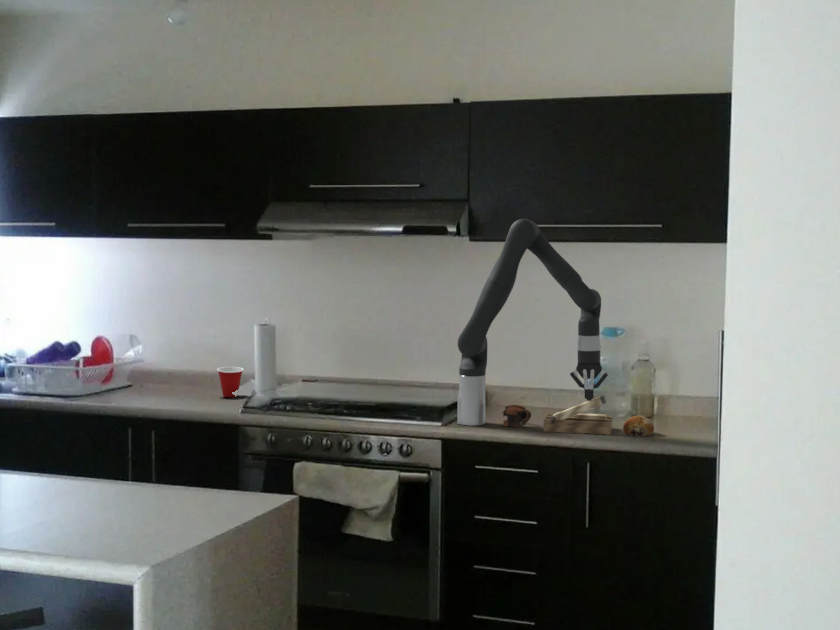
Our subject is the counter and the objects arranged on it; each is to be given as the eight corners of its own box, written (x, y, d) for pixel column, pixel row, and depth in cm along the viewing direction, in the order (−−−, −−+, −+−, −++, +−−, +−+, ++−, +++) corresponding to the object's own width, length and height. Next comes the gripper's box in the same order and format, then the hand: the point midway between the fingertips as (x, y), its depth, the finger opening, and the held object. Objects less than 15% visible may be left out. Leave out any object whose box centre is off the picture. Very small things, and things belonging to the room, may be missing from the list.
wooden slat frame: (543, 431, 308) (543, 416, 308) (547, 424, 320) (547, 410, 319) (610, 434, 303) (610, 420, 302) (611, 428, 314) (612, 414, 314)
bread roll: (656, 445, 304) (662, 422, 306) (640, 436, 297) (647, 413, 299) (630, 441, 311) (637, 418, 313) (615, 431, 304) (621, 409, 306)
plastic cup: (220, 399, 371) (220, 370, 371) (214, 395, 381) (214, 367, 380) (246, 398, 376) (246, 369, 375) (240, 394, 386) (240, 366, 385)
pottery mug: (495, 427, 318) (497, 405, 321) (511, 436, 323) (513, 414, 327) (523, 422, 310) (525, 400, 313) (539, 432, 316) (541, 409, 319)
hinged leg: (551, 424, 309) (548, 417, 309) (552, 422, 312) (549, 416, 312) (605, 402, 304) (602, 396, 304) (606, 401, 307) (603, 394, 307)
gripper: (567, 349, 304) (568, 401, 305) (608, 350, 300) (608, 402, 302) (570, 347, 311) (570, 398, 312) (609, 347, 308) (609, 399, 309)
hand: (589, 400), depth 307 cm, fingers closed
